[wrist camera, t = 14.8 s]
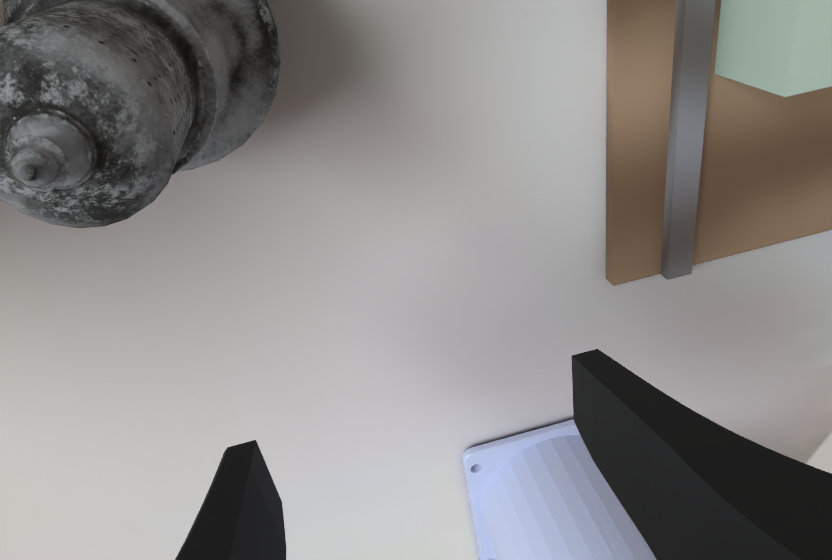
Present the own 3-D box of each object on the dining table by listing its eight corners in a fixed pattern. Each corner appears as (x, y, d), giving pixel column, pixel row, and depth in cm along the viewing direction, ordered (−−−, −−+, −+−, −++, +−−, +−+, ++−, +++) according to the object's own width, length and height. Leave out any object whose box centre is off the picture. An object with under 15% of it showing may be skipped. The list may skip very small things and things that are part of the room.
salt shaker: (248, -111, 16) (212, -178, 6) (298, 113, 19) (332, 328, 9) (11, -78, 15) (-505, -90, 5) (102, 148, 18) (-106, 425, 8)
